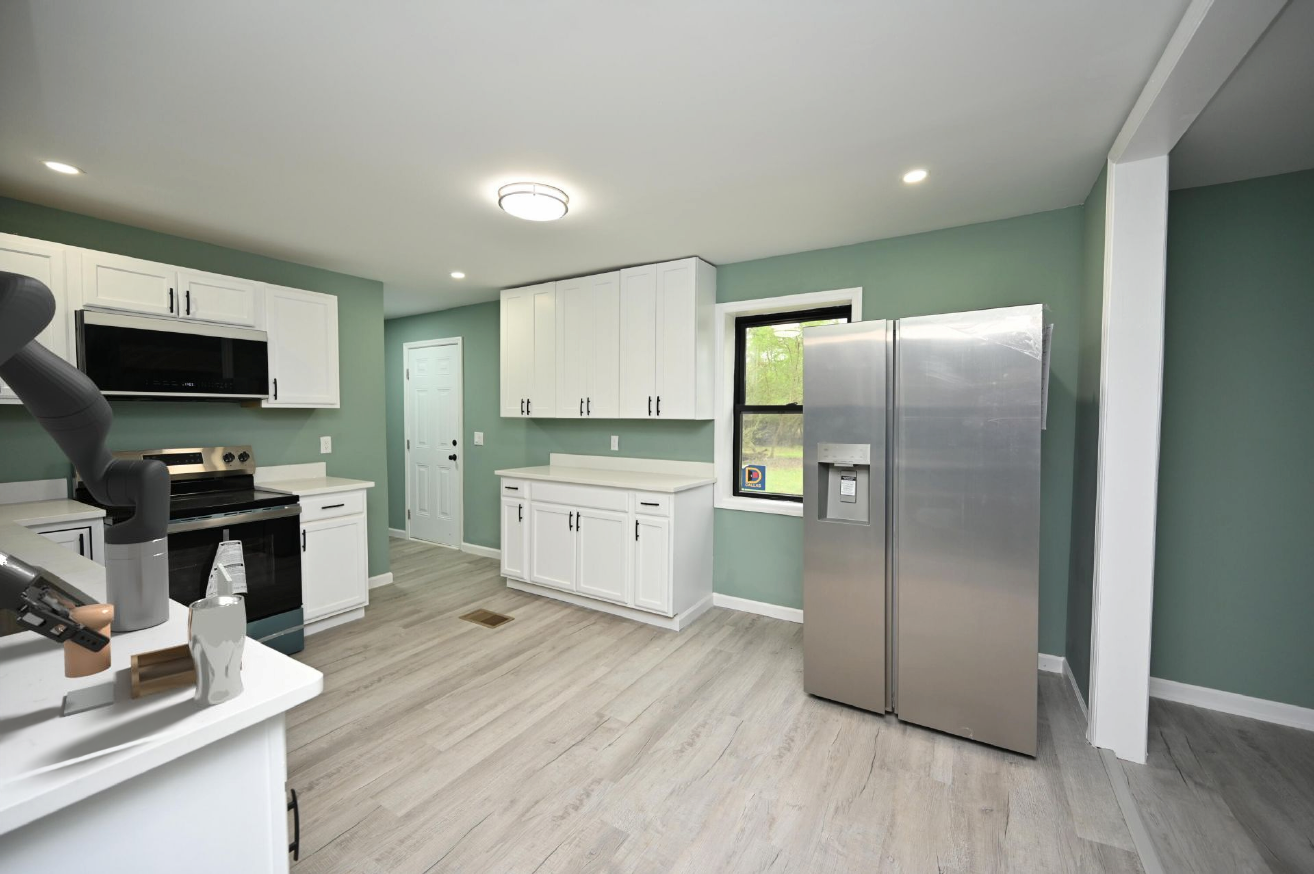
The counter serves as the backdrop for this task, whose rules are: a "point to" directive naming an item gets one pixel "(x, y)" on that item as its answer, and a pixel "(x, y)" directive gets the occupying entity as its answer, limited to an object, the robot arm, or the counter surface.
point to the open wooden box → (162, 670)
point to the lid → (223, 581)
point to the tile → (89, 698)
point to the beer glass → (217, 647)
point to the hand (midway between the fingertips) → (104, 639)
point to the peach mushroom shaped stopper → (80, 658)
